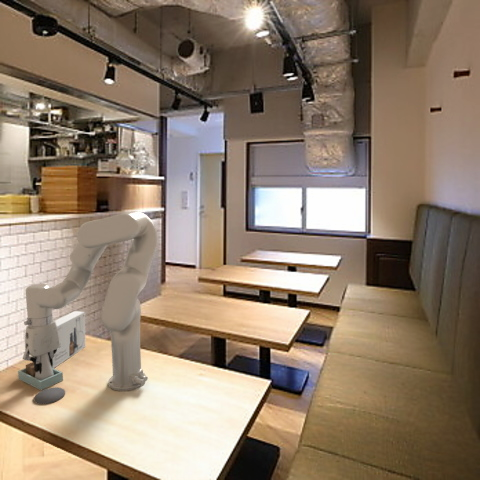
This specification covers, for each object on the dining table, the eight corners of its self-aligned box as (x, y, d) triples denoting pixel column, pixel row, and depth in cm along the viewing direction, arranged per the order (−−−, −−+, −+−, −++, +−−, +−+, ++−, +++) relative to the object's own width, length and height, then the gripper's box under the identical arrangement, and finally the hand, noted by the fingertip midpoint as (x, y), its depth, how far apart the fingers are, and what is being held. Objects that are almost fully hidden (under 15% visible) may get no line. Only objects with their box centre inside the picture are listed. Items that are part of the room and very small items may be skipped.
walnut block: (43, 376, 136) (42, 363, 135) (32, 381, 133) (31, 367, 132) (37, 373, 138) (36, 360, 137) (26, 378, 135) (25, 364, 134)
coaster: (70, 394, 124) (70, 392, 124) (44, 407, 117) (44, 405, 117) (54, 386, 129) (54, 384, 129) (28, 398, 121) (28, 397, 121)
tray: (63, 380, 133) (62, 372, 133) (40, 390, 126) (40, 382, 126) (40, 370, 140) (40, 362, 140) (18, 379, 134) (18, 371, 133)
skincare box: (53, 370, 141) (50, 329, 138) (40, 368, 142) (37, 328, 140) (87, 346, 161) (85, 311, 159) (75, 345, 162) (73, 310, 160)
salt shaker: (40, 377, 135) (37, 343, 133) (56, 377, 135) (54, 342, 133) (32, 386, 129) (29, 350, 127) (49, 385, 129) (47, 349, 128)
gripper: (22, 330, 120) (26, 384, 123) (68, 315, 134) (71, 364, 136) (9, 325, 124) (14, 377, 127) (56, 311, 138) (59, 359, 140)
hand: (43, 370), depth 131 cm, fingers closed on salt shaker, 3 cm apart
